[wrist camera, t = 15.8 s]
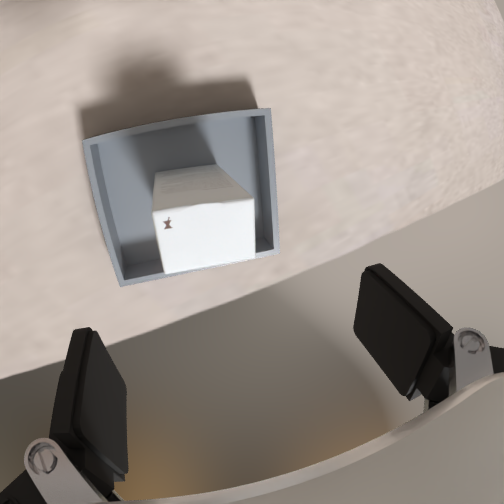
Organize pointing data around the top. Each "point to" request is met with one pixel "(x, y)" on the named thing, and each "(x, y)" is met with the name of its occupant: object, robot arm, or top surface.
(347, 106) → the top surface
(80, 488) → the robot arm
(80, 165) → the top surface
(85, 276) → the top surface
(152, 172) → the tray
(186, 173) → the skincare box
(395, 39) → the top surface
